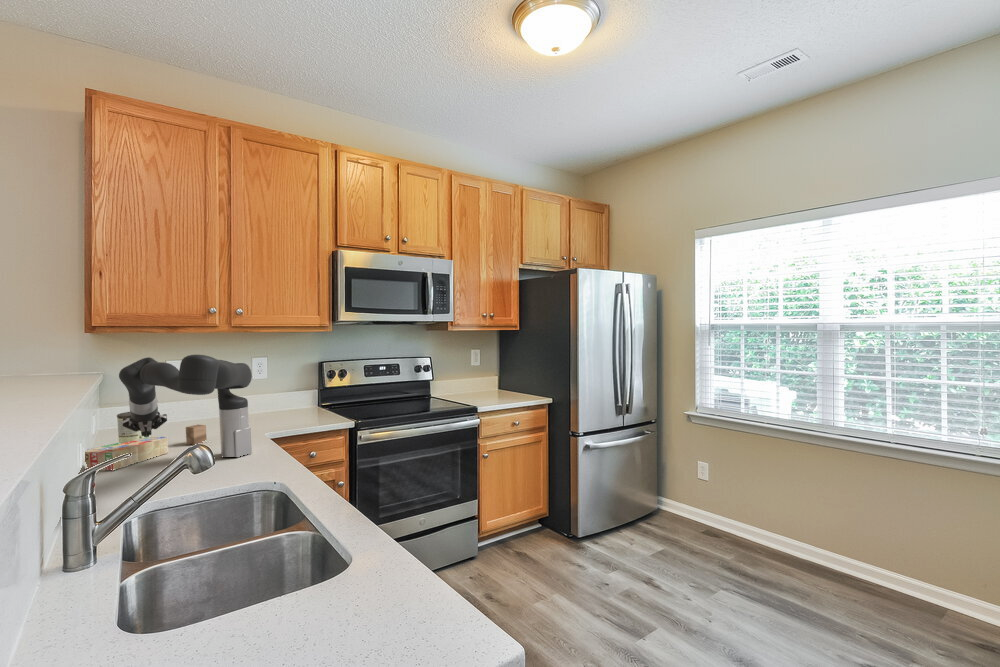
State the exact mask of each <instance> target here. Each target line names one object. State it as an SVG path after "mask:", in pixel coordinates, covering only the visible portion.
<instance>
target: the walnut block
mask: <svg viewBox="0 0 1000 667" xmlns="http://www.w3.org/2000/svg"><path fill="white" fill-rule="evenodd" d="M185 438H186V439H185V440H186V441H185V442H186V445H187V444H192V445H191V446H196V445H195V444H198V443H202V444H204V443H203V442H202V441H205V440H207V439H208V438H207V425H206V424H198V423H197V424H195V425H190V426H186V427H185ZM198 445H199V444H198Z"/></svg>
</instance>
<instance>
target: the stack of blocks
mask: <svg viewBox="0 0 1000 667" xmlns="http://www.w3.org/2000/svg"><path fill="white" fill-rule="evenodd" d="M126 453H132V456H131V457H129V458H127V459H124V460H121V461H118V462H116V463H113V464H111V465H109V466H107V467H105V468H103V469H101V470H100V471H102V472H103V471H104V472H106V471H105V470H111V469H112V470H113V469H118V468H121V467H124V468H126V467H125V466H127V465H130V464H132V465H135V464H137V463H136V462H138V463H141V462H144V461H148V460H151V459H154V458H157V457H160V456H161V455H165V454H168V453H169V445H168V436H151V437H145V438H140V439H136V440H133V441H130V442H126V443H119V442H116V443H110V444H107V445H103V446H100V447H95V448H91V449H88V450H85V462H86V464H87V467H88V468H86V469H89V468H91V467H93V466H95V465H97V464H100V463H102V462H105V461H107V460H110V459H113V458H115V457H118V456H120V455H123V454H126ZM156 456H157V457H156ZM153 457H154V458H153ZM150 458H151V459H150ZM147 459H148V460H147ZM134 463H135V464H134ZM130 466H131V465H130ZM127 467H128V466H127ZM121 469H122V468H121ZM118 470H119V469H118Z"/></svg>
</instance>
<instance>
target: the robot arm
mask: <svg viewBox="0 0 1000 667" xmlns="http://www.w3.org/2000/svg"><path fill="white" fill-rule="evenodd" d="M252 374H253V373H252V370H251V368H250V365H248V364H247V363H244V362H237V363H236V362H235V363H234V362H231V361H227V360H223V359H218V358H214V357H212V356H211V355H210V356H209V355H205V354H190V355H186V356H184V357H183V358H182V359H181V361H180V365H179V369H178V368H177V366H175V365H173V364H172V363H168V362H159V361H158V360H155V359H154V358H153V357H149V356H148V357H144V358H141V359H139V360H137V361H135V362H133V363H131V364H129V365H126V366H124V367H122V368H121V369H120V371H119V374H118V378H119V380H120V382H122V384H123V385H124V387H125V388H126V390H127V392H128V397H129V398H128V407H129V412H130V414H131V415H130V416H129V418H128V419H123V426H124V427H126V428H128V429H130V430H133V431H135V432H137V431H141V435H142V436H144V437H149V435H151V436H152V430H158V429H159V428H161V426H163V425H164V424H165V423H166V422H167V421H168V415H167V414H166V413H164V414H160V412H159V406H158V397H157V393H156V386H157V387H164V388H167V389H170V390H173V391H176V392H177V393H181V394H185V395H193V396H195V395H196V396H201V395H202V396H205V395H210V394H212V393H213V392H214V391H215V390H216V389H217V401H218V414H219V418H218V419H219V435H220V439H219V440H220V450H221V451H220V453H221V454H220V455H221V456H223V457H238V458H241V457H244V456H243V455H245V456H247V454H248V455H251V454H252V453H253V450H252V432H251V431H252V430H251V427H250V424H249V423H250V420H249V419H250V417H249V403H248V402H249V401H248V399H247V398H246V397H243V396H239V395H236V394H234V393H232V392H231V391H230V390H238V389H245V388H247V387H248V386H249V385H250V384H251V382H252V377H253V376H252ZM145 425H147V426H145ZM240 456H241V457H240ZM223 457H222V458H223Z"/></svg>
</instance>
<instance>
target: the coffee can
mask: <svg viewBox="0 0 1000 667" xmlns="http://www.w3.org/2000/svg"><path fill="white" fill-rule="evenodd" d="M130 415H131V414H130V411H125V412H121V413H118V414H116V418H117V432H118V443H126V442H130V441H133V440H136V439H140V438H145V437H144V436H142V435H141V431H137V432H135V431H133V430H130V429H128V428H126V427H124V426H123V419H128V418H129V416H130ZM145 426H147V425H145ZM149 437H152V434H151V435H149Z"/></svg>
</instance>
